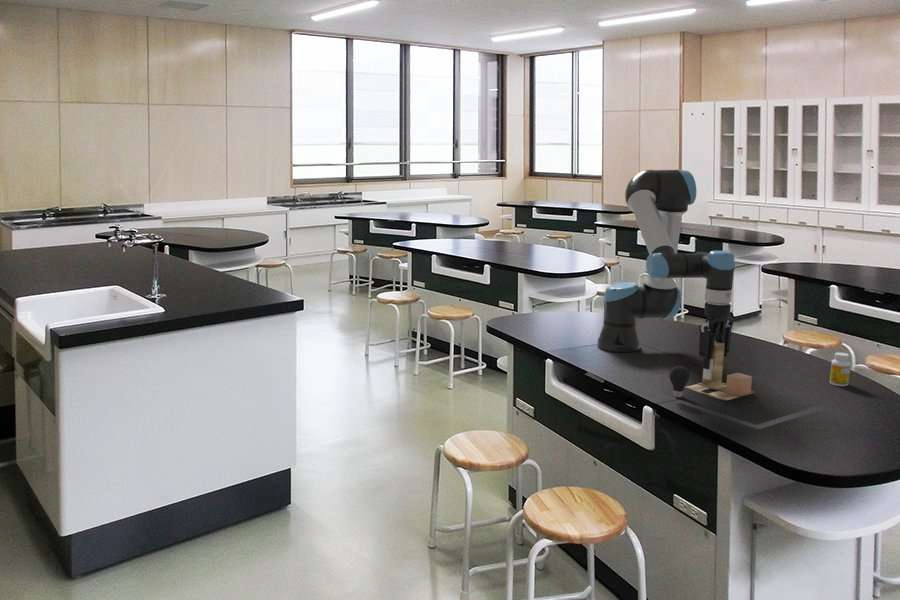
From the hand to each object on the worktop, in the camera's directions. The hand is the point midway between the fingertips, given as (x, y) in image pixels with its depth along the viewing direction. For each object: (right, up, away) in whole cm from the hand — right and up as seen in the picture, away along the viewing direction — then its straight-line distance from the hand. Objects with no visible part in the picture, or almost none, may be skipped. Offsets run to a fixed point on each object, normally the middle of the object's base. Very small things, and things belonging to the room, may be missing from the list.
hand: (712, 377), depth 251 cm
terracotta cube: (+5, -4, -7) cm, 10 cm away
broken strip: (-2, -5, -7) cm, 9 cm away
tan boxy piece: (+3, -4, -3) cm, 6 cm away
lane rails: (0, -4, -5) cm, 7 cm away
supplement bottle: (+41, -3, +6) cm, 42 cm away
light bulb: (-14, -5, -11) cm, 18 cm away
